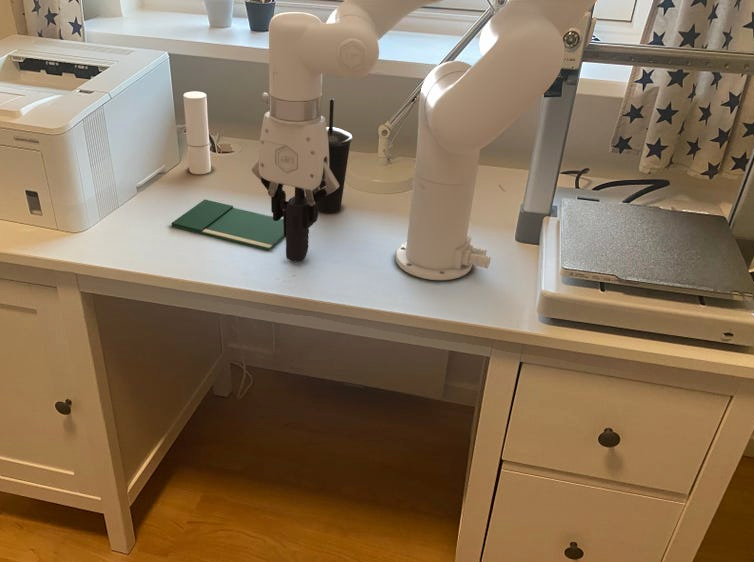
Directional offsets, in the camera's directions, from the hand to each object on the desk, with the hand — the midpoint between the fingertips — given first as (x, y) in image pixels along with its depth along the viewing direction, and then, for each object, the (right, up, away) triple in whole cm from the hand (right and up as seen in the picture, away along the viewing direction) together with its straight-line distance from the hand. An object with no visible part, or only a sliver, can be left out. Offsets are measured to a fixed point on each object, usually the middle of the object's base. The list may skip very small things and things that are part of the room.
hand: (294, 220), depth 120 cm
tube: (-21, +16, +32) cm, 42 cm away
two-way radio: (0, -5, +4) cm, 7 cm away
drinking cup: (+5, +6, +20) cm, 22 cm away
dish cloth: (-11, +1, +13) cm, 17 cm away
